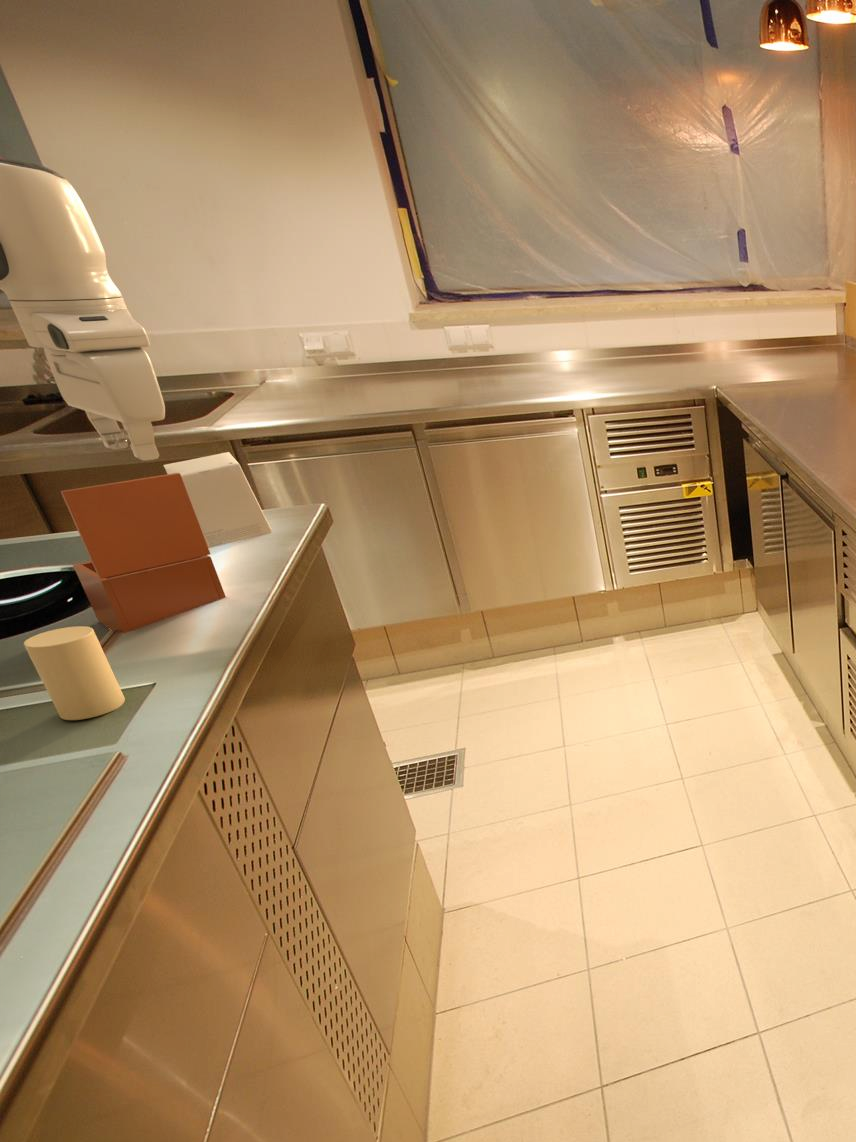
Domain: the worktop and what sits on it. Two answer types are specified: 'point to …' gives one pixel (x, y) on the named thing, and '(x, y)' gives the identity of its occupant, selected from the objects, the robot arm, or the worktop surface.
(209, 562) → the tin
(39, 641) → the candle
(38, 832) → the worktop surface
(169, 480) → the tin lid
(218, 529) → the white product box
